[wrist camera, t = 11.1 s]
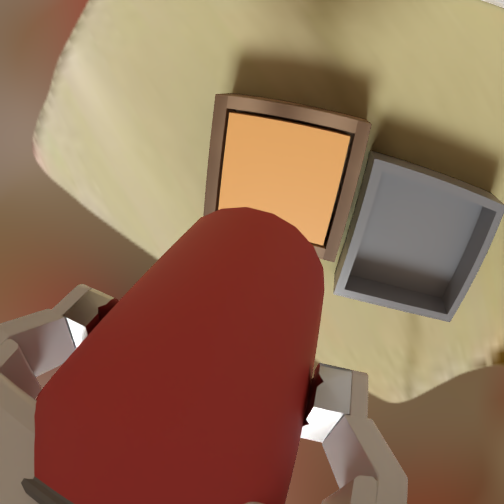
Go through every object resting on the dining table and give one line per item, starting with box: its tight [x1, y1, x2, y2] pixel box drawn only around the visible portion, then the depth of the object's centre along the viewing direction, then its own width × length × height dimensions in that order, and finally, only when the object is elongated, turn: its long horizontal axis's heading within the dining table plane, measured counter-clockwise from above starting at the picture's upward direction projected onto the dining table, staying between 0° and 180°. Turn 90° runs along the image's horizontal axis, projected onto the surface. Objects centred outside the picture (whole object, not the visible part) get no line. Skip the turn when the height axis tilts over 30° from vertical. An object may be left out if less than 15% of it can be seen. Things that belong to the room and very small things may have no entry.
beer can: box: [21, 207, 324, 504], centre depth 9 cm, size 7×7×12 cm
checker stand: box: [203, 93, 371, 262], centre depth 25 cm, size 12×12×4 cm
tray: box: [333, 150, 504, 322], centre depth 25 cm, size 13×13×4 cm
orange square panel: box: [218, 112, 350, 245], centre depth 24 cm, size 9×9×1 cm
